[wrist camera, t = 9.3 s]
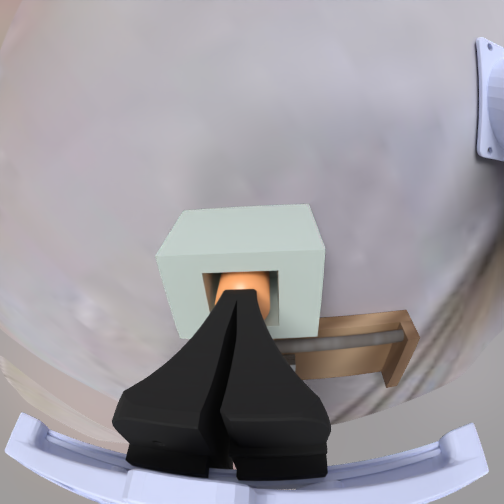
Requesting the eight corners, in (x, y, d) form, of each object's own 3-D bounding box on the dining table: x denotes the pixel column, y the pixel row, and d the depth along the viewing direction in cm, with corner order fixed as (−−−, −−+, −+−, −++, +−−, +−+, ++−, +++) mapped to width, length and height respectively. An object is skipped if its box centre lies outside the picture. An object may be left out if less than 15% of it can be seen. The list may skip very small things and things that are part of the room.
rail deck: (406, 309, 19) (420, 337, 17) (388, 359, 22) (396, 385, 20) (206, 321, 20) (199, 352, 18) (218, 370, 23) (214, 398, 21)
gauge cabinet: (308, 204, 16) (325, 249, 11) (306, 281, 18) (317, 339, 14) (183, 210, 16) (155, 256, 12) (198, 285, 19) (181, 341, 14)
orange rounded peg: (268, 247, 14) (269, 284, 12) (270, 286, 16) (270, 326, 13) (220, 249, 14) (210, 286, 12) (225, 288, 16) (218, 327, 13)
